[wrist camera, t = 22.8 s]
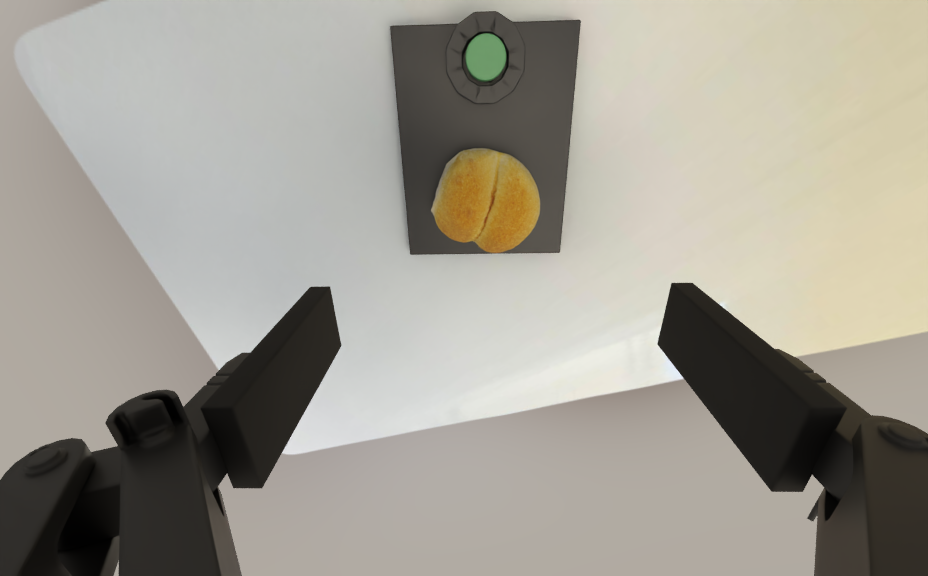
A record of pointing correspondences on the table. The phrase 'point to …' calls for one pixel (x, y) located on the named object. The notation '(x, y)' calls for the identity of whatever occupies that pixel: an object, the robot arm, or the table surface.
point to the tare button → (485, 57)
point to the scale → (485, 116)
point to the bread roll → (486, 200)
